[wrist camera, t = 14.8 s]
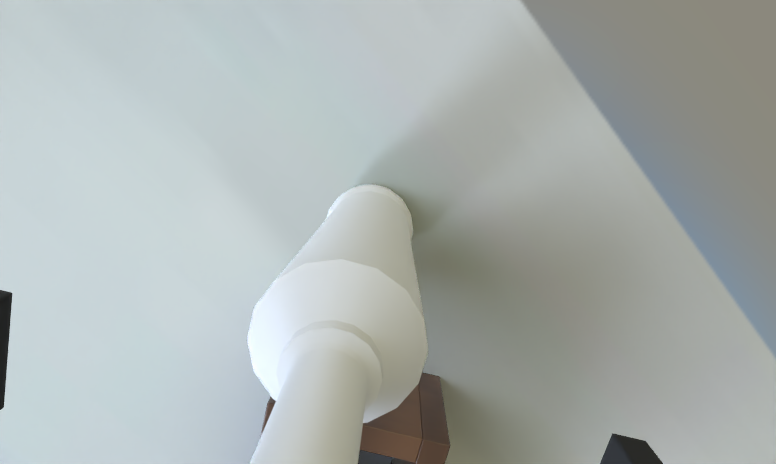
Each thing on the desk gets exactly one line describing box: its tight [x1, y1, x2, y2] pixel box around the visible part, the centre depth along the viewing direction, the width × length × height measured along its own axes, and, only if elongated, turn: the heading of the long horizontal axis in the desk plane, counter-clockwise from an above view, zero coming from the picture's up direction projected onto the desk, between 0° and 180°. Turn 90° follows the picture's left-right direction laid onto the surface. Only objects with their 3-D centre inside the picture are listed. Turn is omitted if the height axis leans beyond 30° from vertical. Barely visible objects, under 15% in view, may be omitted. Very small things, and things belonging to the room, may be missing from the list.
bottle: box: [247, 184, 428, 464], centre depth 18 cm, size 5×5×25 cm
